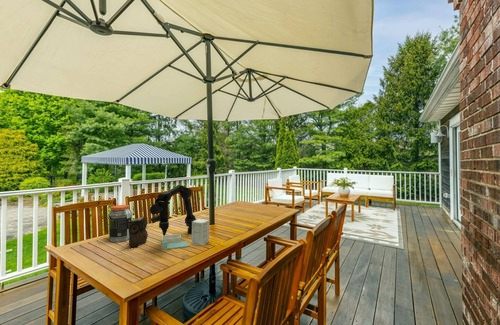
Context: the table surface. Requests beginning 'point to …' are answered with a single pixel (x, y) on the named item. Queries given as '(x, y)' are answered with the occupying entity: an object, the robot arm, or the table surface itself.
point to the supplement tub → (119, 223)
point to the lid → (174, 245)
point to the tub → (172, 238)
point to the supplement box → (200, 232)
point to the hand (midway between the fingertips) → (164, 233)
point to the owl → (137, 232)
